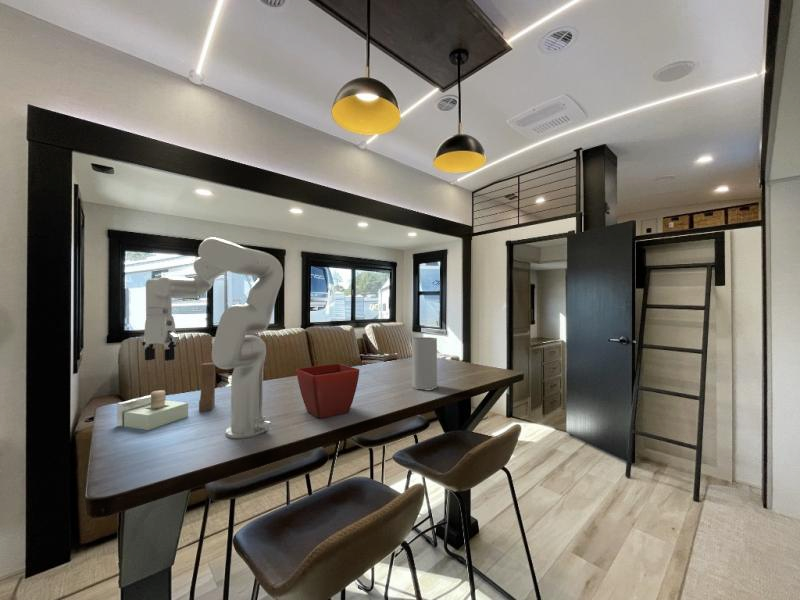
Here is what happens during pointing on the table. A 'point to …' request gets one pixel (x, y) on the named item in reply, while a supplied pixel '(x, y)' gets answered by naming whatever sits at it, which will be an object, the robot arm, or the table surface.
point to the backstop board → (130, 407)
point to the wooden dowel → (157, 400)
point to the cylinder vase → (424, 362)
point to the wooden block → (207, 387)
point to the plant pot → (328, 388)
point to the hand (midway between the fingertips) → (159, 360)
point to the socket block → (155, 415)
